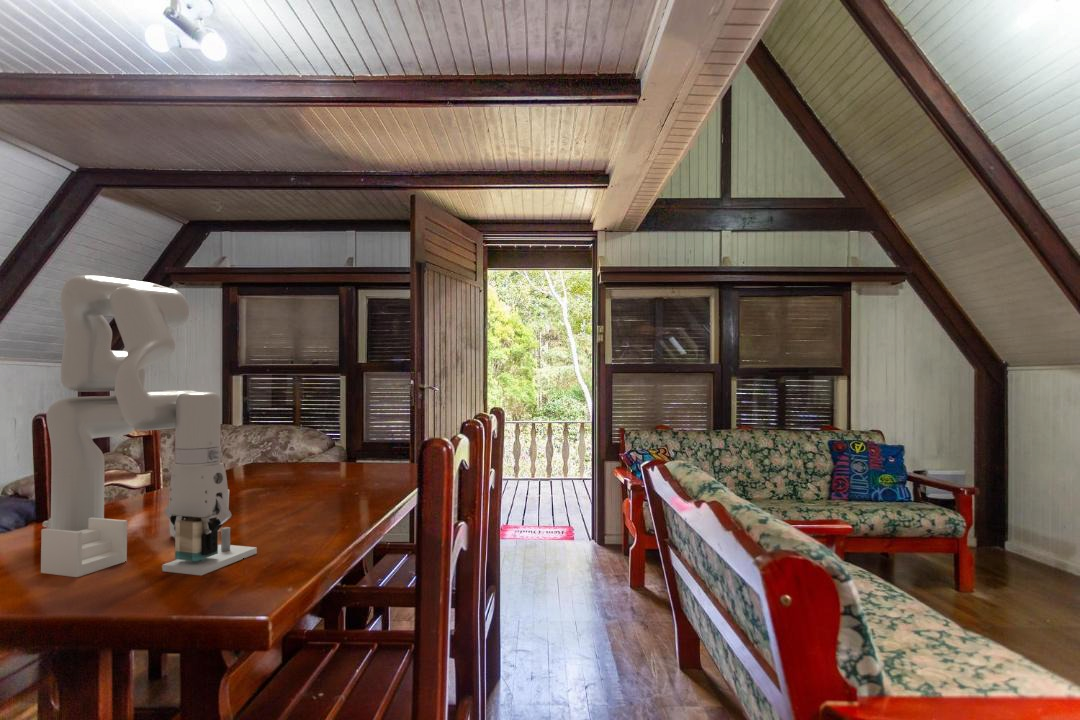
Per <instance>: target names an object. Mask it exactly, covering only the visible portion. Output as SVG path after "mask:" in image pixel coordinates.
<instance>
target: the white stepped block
mask: <svg viewBox="0 0 1080 720" xmlns="http://www.w3.org/2000/svg"><path fill="white" fill-rule="evenodd" d="M40 535H41V536H40V537H41V541H40V545H41V547H40V551H41V552H40V574H47V575H57V576H65V577H73V578H78V577H80V578H81V577H83V576H86V575H88V574H91V573H95V572H99V571H101V570H104V569H107V568H110V567H113V566H116V565H119V564H123V563H126V562H127V559H128V558H127V557H128V555H127V554H128V551H127V550H128V520H126V519H113V518H105V517H104V518H88V529H84V530H81V531H68V530H57V529H49V528H48V527H45V528H42V529H41V530H40ZM125 561H126V562H125Z"/></svg>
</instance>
